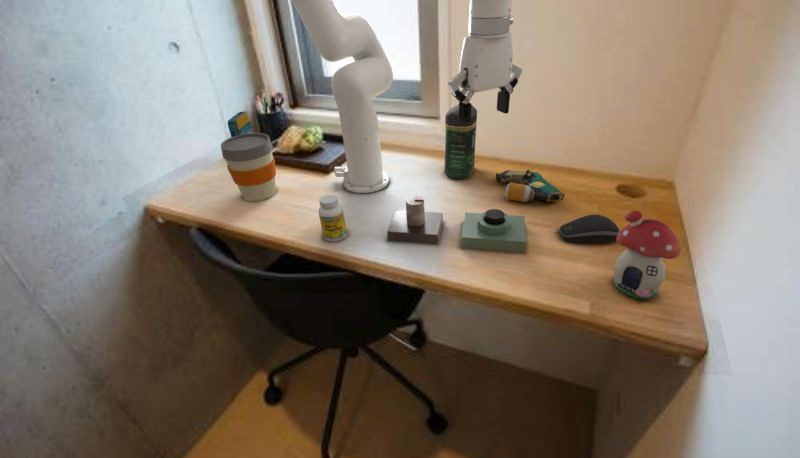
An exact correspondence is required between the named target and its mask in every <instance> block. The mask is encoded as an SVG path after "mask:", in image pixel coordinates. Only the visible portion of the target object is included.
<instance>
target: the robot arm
mask: <svg viewBox="0 0 800 458" xmlns="http://www.w3.org/2000/svg"><path fill="white" fill-rule="evenodd" d="M290 2H291V3H292V5H293V6H294V8H295V10H296V11H297V13H298V15H299V17H300V19H301V22H302V24H303V25H304V27H305V29H306V31H307V33H308V35H309V37H310V38H311V41H312V42H313V44H314V46H315V48H316V50H317V51H318V53H319V55H320V56H321V57H322V59H324V61H326V62H330V63H336V62H341V61H344V60H347V59H350V58H351V59H352V61H351V62H348V63H346V64H343V65H342V66H340V67H339V68H337V69H336V71H335V72H334V74H333V75H332V77H331V82H330V83H331V84H330V85H331V91H332V95H333V98H334V101H335V104H336V108H337V111H338V115H339V121H340V128H341V134H342V142H343V147H344V155H345V162H346V166H344V167H343V166H334V168H333V173H334V174H335V177H336V178H344V179H343V181H342V182H343V187H344V188H345V189H346V190H347V191H349V192H352V193H357V194H368V193H369V194H370V193H375V192H377V191H380V190H382V189H384V188H385V187H387V186H388V185H389V183H390V176H389V175H388V174H387V173H386V172H385V171H383V160H382V159H383V158H382V149H381V137H380V127H379V119H378V114H377V111H376V110H375V108H374V106H373V104H372V99H375V98H376V97H379V96H380V95H382V94H384V93H386V92H387V91H389V89H390V88H391V86H392V85H393V82H394V81H393V80H394V74H393V69H392V65H391V63H390V61H389V59H388V57H387V54H386V53H385V50H384V48H383V46H382V44H381V42H380V40H379V38H378V36H377V34H376V31H375V30H374V28H373V26H372V25H371V23H370V22H369V20H367V19H366V17H364V16H362V15H361V14H359V13H354V12H350V13H344V14H342V13H341V12H340V11H339V9H338V7H337V6H336V4H335V2H334V0H290ZM512 3H513V0H469V16H468V35H464V39H463V43H462V47H461V53H460V59H459V72H458V74H456V75H455V76H454V77H453V78H451V79H450V80H449V81H448V82H447V84H448V87H449V90H450V92H451V95H452V96H453V97H454V98H455V99H456V101H458V104H459V118H460V120H462V121H464V122H466V123H470V122H471V105H472V103H471V102H470V101H471V100H472V98H473V96H474V95H475V93H479V92H484V91H485V92H486V91H490V90H494V89H499V91H498V92H497V97H496V98H497V99H496V111H498V112H500V113H503V114H505V115H506V114H509V110H510V99H511V95H513V92H514V88H515V87H516V86H517V84H518V83H519V79H520V76H521V75H522V73H523V69H522V68H521V67H519V66H518V65H516V64H514V63H513V39H512V38H513V37H512V33H511V32H510V29H511V25H512V24H514V17H513V16H511V14H512ZM460 88H461V89H460Z"/></svg>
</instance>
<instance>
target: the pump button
mask: <svg viewBox="0 0 800 458" xmlns="http://www.w3.org/2000/svg"><path fill="white" fill-rule="evenodd" d="M484 212H485V222H486V223H487V224H490V225H501V224H503V223H504V216H505V214H504V213H505V212H504V211H503V210H501V209H497V208H490V209H487V210H486V211H484Z"/></svg>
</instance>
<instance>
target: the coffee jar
mask: <svg viewBox="0 0 800 458" xmlns="http://www.w3.org/2000/svg"><path fill="white" fill-rule="evenodd" d="M444 118H445V119H444V127H445V128H444V129H445V136H444V137H445V138H444V140H445V142H444V144H445V145H444V175H445V176H447V177H449V178H452V179H456V180H459V179H467V178H469V177H470V176H471V175H472V174H473V172H474V170H475V157H476V139H477V138H476V136H477V125H478V109H477V108H476V107H474V105H473V104H471V122H470V123H466V122H464V121H462V120H460V118H459V103H458V104H457V105H455V106H452V107H451V108H450V109H449V110H448V111H447V112H446V114H445V117H444Z"/></svg>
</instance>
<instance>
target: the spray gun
mask: <svg viewBox="0 0 800 458" xmlns="http://www.w3.org/2000/svg"><path fill="white" fill-rule="evenodd" d="M495 180H496V181H497V182H498V183H502V184H505V183H507V185H506V189H505V194H504V195H505V196H504V197H505V198H506V199H507V200H508V201H516V202H520V203H527V202H528V201H529V202H530V201H533V200H534V199H536V200H542V201H545V202H547V203H550V202H557V201H563V200H564V198H565V193H564V192H562V191H561V190H559V189H558V188H557V187H556V185H552V184H551V183H550V182H548V181H547V180H546V179H545V178H544V177H543V176H542V174H541V173H539V172H537V171H532V170H530V169H529V168H527V169H526V170H525V171H519V170H509V169H508V170H504V171H502V172H501V173H499V172H496V173H495Z"/></svg>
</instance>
